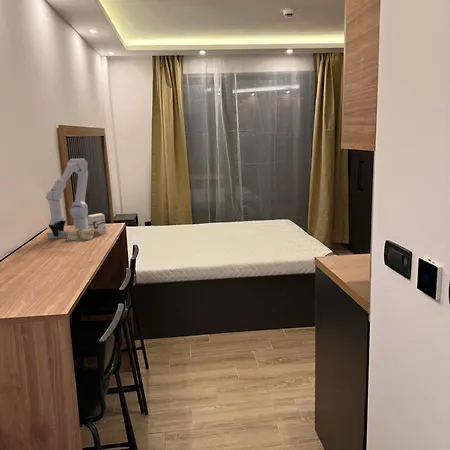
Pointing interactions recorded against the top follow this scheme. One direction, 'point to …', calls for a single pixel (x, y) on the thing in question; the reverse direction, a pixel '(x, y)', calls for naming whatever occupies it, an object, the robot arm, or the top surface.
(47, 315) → the top surface
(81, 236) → the mat
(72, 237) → the cube left
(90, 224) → the ink box
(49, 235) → the lintel
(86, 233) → the cube right
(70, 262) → the top surface
